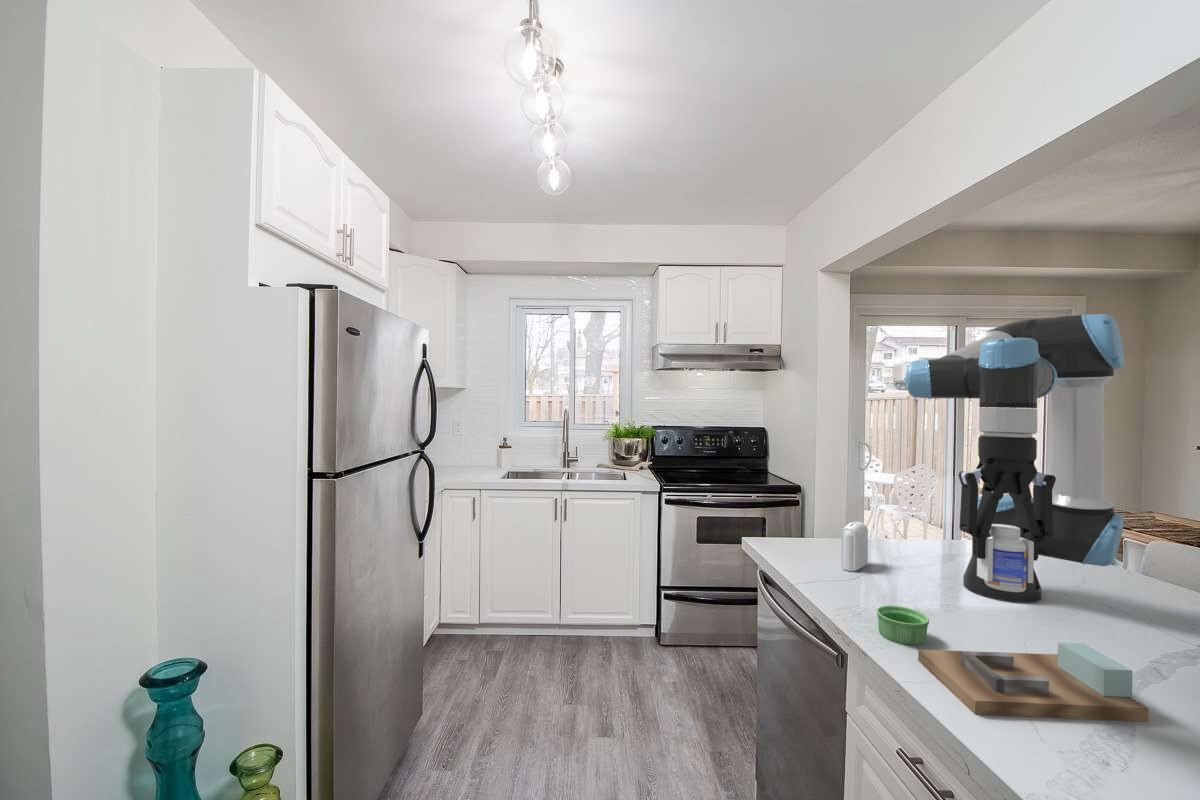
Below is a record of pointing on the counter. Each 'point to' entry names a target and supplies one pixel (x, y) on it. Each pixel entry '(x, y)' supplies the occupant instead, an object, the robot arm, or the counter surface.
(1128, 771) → the counter surface
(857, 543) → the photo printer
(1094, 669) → the pale blue rectangular block
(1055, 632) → the counter surface
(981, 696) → the cradle
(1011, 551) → the pill bottle
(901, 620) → the ramekin
